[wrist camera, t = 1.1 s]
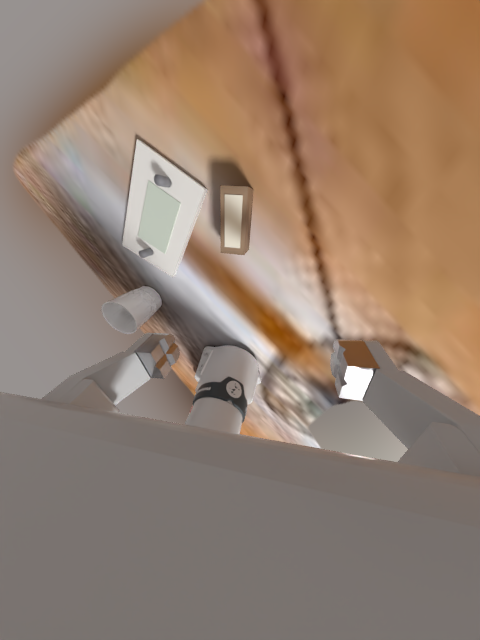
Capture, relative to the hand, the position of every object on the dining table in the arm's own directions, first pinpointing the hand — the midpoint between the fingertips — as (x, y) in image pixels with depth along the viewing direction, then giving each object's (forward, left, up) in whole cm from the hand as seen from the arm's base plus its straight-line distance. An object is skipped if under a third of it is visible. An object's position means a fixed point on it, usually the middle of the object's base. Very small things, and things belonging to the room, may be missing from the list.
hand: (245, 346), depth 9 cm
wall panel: (-8, +20, -28) cm, 35 cm away
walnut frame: (0, +7, -28) cm, 29 cm away
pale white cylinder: (-27, +18, -28) cm, 43 cm away
